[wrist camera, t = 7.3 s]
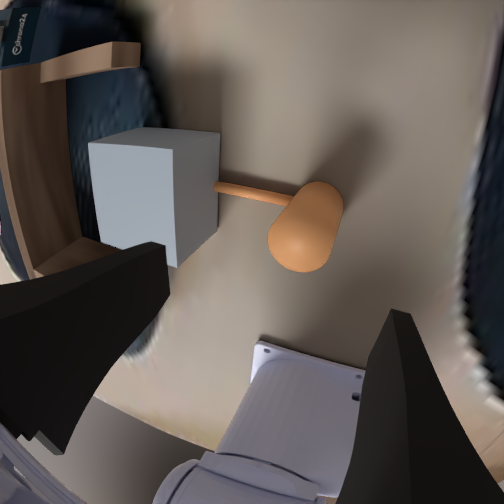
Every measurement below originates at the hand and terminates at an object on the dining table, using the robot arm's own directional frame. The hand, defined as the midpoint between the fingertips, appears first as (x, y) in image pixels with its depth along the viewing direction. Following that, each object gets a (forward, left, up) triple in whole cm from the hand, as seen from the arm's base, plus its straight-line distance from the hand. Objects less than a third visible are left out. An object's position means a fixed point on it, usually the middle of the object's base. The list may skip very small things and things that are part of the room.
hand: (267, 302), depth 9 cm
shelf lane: (+17, 0, -8) cm, 19 cm away
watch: (+28, -13, -9) cm, 32 cm away
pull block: (+5, 0, -8) cm, 10 cm away
